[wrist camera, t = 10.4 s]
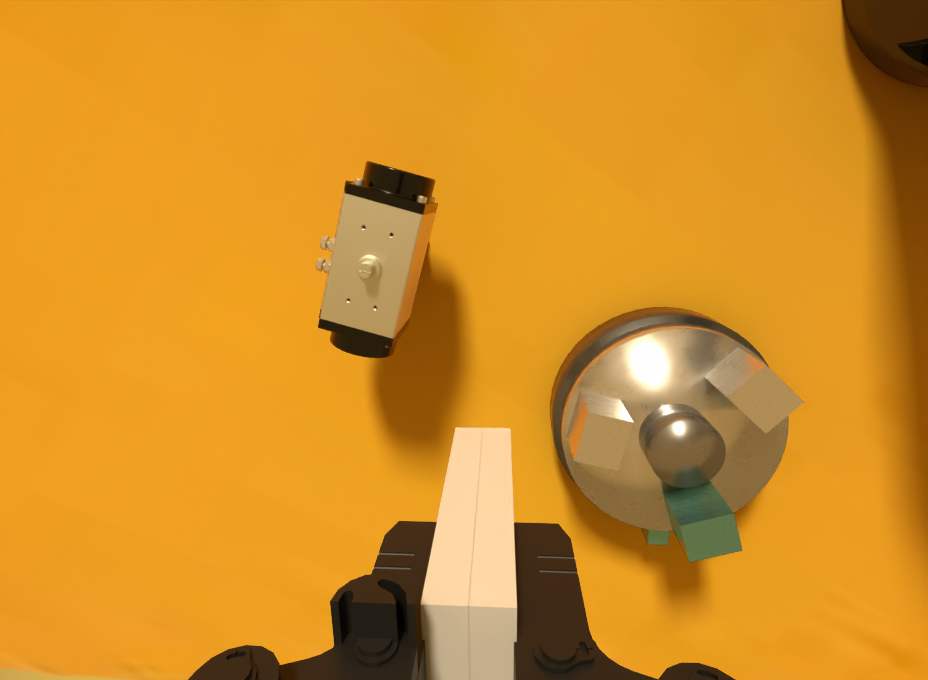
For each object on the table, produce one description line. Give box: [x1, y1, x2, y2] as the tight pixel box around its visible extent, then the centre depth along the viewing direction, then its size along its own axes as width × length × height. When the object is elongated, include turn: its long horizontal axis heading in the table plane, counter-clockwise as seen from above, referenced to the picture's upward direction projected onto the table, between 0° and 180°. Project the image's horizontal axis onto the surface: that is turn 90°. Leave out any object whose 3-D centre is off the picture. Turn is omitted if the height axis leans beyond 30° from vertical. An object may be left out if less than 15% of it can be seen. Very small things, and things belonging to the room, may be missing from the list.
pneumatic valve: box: [316, 161, 438, 358], centre depth 36 cm, size 6×12×12 cm, turn 165°
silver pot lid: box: [550, 307, 769, 545], centre depth 42 cm, size 17×18×4 cm
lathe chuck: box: [560, 323, 804, 562], centre depth 38 cm, size 16×16×6 cm
